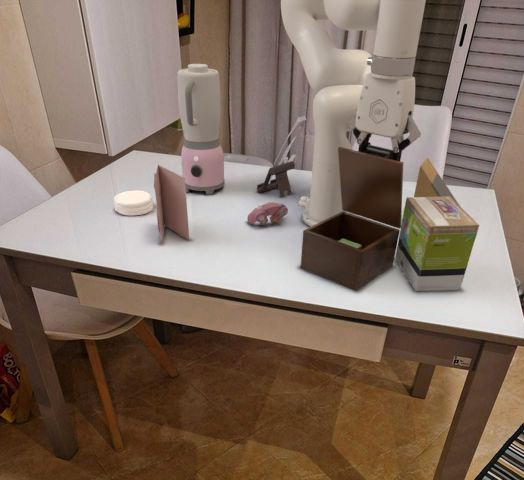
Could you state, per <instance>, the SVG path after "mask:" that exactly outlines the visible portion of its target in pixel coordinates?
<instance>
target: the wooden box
mask: <svg viewBox="0 0 524 480" xmlns="http://www.w3.org/2000/svg"><path fill="white" fill-rule="evenodd" d="M400 230H401V229H399V228H396V227H393V226H390V225H387V224H383V223H380V222H377V221H374V220H371V219H368V218H365V217H362V216H359V215H356V214H352V213H349V212H344V211H342V212H340V213H338V214H336V215H334V216H332V217H330V218H328V219H326V220H324V221H322V222H320V223H318V224H316V225H313V226H309V227H308V228H305V229H303V231H302V243H301V244H302V245H301V257H300V258H301V259H300V269H303V270H305V271H307V272H309V273H312V274H315V275H316V276H318V277H322V278H325V279H327V280H329V281H331V282H333V283H336V284H338V285H341V286H343V287H346V288H348V289H350V290H353V291H355V292H358V291H359V290H361V289H362V288H364V287H365V286H367V285H368V284H370V283H371V282H372V281H374V280H376V279H378V278H379V277H380V276H381V275H383V274H384V273H386V272H387V271H389V270H390V269H392V268H393V267H394V263H395V258H396V257H395V256H396V250H397V245H398V240H399V234H400ZM341 239H346V240H349V241H352V242H354V243H357V244H360V245H362V250H361V249H358V248H355V247H353V246H350V245H347V244H344V243H342V242H339V240H341Z"/></svg>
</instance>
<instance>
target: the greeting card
mask: <svg viewBox="0 0 524 480" xmlns="http://www.w3.org/2000/svg"><path fill="white" fill-rule="evenodd" d="M153 189H154V193H155V194H154V195H155V202H156V215H157V216H156V218H157V219H156V220H157V228H158V232H159V237H160V245H163V237H164V231H165V227H167V228H168V229H170V230H172V231H173V232H175V233H177V234H178V235H180V236H182V237H183V238H184V239H186V240H188V241H190V228H189V216H188V202H187V191H186V187H185V178H184V177H183V175H180V174H178V173H176V172H174V171H172V170H170V169H168V168H166V167H163V166H161V165H160V164H157V167H156V171H155V173H154V177H153Z"/></svg>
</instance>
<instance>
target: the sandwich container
mask: <svg viewBox="0 0 524 480" xmlns="http://www.w3.org/2000/svg"><path fill="white" fill-rule="evenodd" d="M439 196H450V197H451V198H452V199H453V200H454V201H455V202H456V203H457V204H458V205H459V206H460V207H461V205H460V204H459V202H458V201H457V199H456V198H455V196H454V195H453V193H452V192H451V191H450V188H449V187H448V186H447V185H446V183H445V181H444V180H443V179H442V177H441V175H440V174H439V172H438V171H437V169H436V168H435V166H434V165H433V163H432V161H431V160H430V158H429V157H426V158H425V160H423V162H422V163H421V164H420V166H419V170H418V175H417V179H416V184H415V189H414V194H413V197H439Z"/></svg>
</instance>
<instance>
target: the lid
mask: <svg viewBox="0 0 524 480" xmlns="http://www.w3.org/2000/svg"><path fill="white" fill-rule="evenodd" d="M392 151H393V149H390V148H385V147H382V146H377V145H372V144H371V145H369V144H368V145H367V146H366V148H365V151H364V152H359V151H358V150H355V149H353V150H351V149H347V148H342V147H339V148H338V157H339V171H340V185H341V199H342V210H343V211H346V212H347V213H350V214H353V215H356V216H359V217H362V218H365V219H368V220H371V221H374V222H378V223H381V224H384V225H387V226H390V227H393V228H396V229H399V230H401V224H402V213H403V212H402V209H403V183H404V161H401V160H400V161H396V160H392V159H389V154H390V152H392Z"/></svg>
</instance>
